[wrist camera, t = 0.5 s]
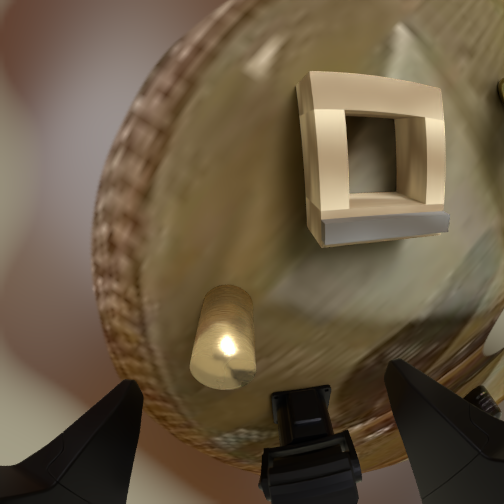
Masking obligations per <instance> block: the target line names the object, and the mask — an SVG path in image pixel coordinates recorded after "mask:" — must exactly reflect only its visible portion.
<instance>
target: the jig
mask: <svg viewBox="0 0 504 504" xmlns="http://www.w3.org/2000/svg"><path fill="white" fill-rule="evenodd" d="M296 91H297V99H298V108H299V118H300V128H301V139H302V150H303V163H304V177H305V194H306V213H307V227H308V229H309V230H310V232H311V233H312V235H313V236H314V238H315V239H316V240H317V242H318V243H319V245H320V246H321V248H325V247H335V246H344V245H353V244H362V243H371V242H381V241H390V240H399V239H408V238H417V237H426V236H435V235H440V234H441V233H443V232H448V228H449V220H450V214H448V213H446V212H444V211H443V207H444V193H445V163H446V157H445V127H444V114H443V104H442V95H441V89H440V88H436V87H432V86H428V85H423V84H419V83H414V82H409V81H404V80H399V79H393V78H386V77H379V76H372V75H363V74H353V73H340V72H320V71H309V72H308V73H307V74H306V75H305V76H304V77H303V78H302V79H301V81H300V82H299V83H298V84H297V85H296ZM345 116H361V117H377V118H390V119H394V122H395V137H396V168H397V182H396V192H373V193H352V194H349V170H348V149H347V134H346V122H345Z"/></svg>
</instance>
